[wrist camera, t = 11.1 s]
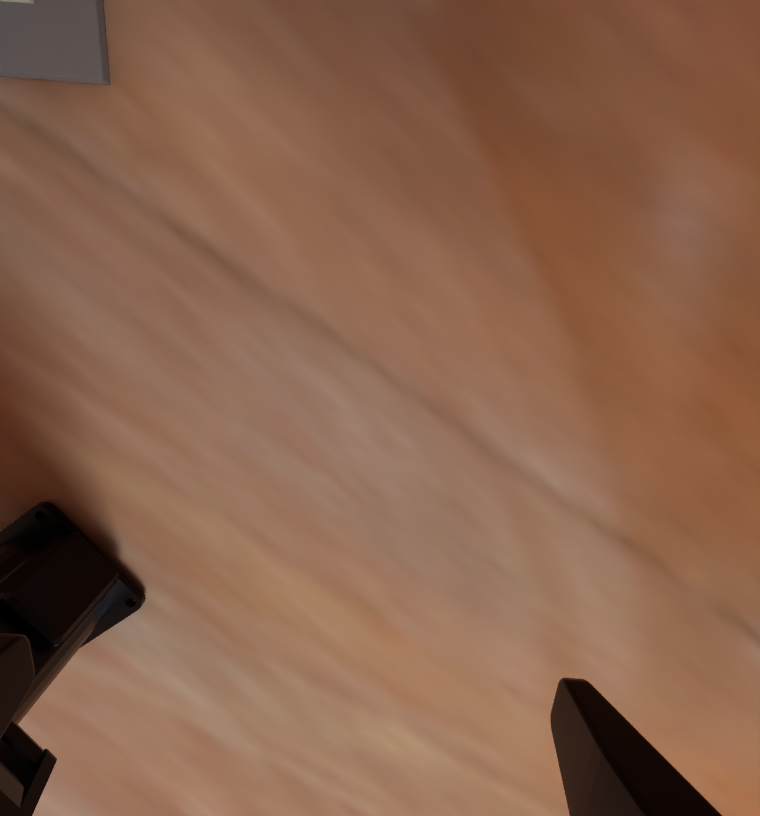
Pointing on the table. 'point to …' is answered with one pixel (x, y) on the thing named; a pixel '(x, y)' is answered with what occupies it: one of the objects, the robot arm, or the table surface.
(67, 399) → the table surface
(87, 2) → the charcoal mat
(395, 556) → the table surface
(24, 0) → the sage block
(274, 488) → the table surface
